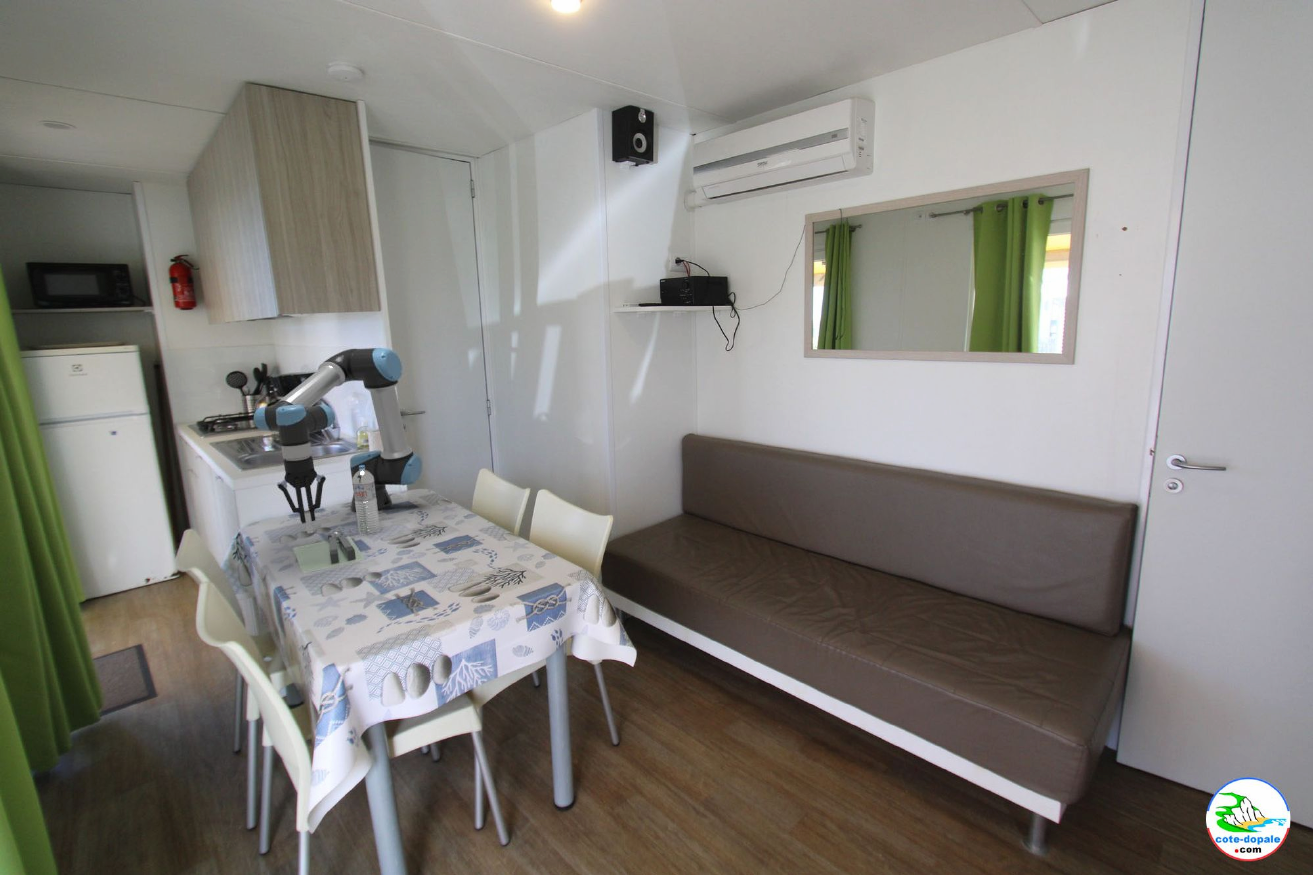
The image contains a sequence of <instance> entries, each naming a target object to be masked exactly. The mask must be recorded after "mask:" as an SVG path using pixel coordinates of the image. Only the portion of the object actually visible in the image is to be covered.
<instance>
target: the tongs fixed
mask: <svg viewBox="0 0 1313 875" xmlns="http://www.w3.org/2000/svg"><path fill="white" fill-rule="evenodd" d="M330 537H336V540H337V544H339V545H340V547H341V548H342V550H343V552H344V553H345V555H346V557H347V559H348V560H352V559H356V556H355V549H354V548H353V546H352V545H351V544H350V542H349V541H348V539H347V538H346V537H347V536H346V535H345V534H344V532H343V530H342V529H341V530H335V531H331V532H326V539H327V540H326V541H328V542H330V541H329V538H330Z"/></svg>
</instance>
